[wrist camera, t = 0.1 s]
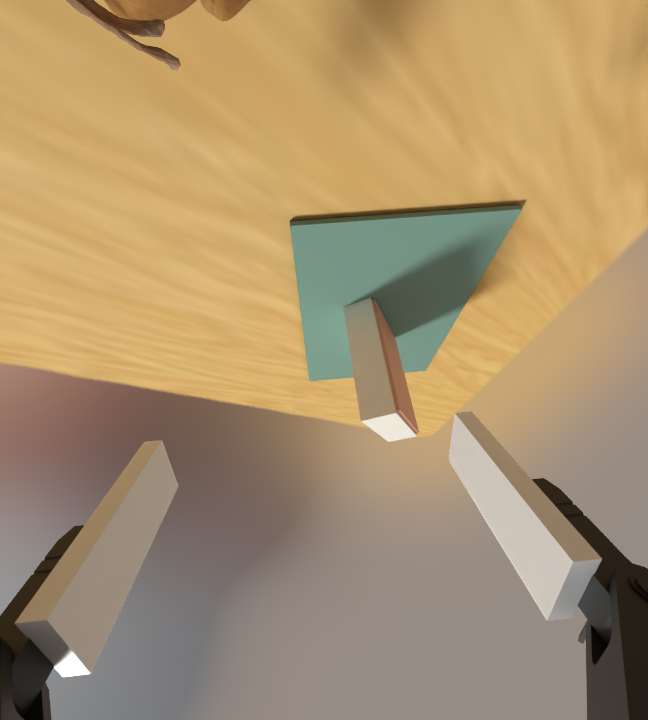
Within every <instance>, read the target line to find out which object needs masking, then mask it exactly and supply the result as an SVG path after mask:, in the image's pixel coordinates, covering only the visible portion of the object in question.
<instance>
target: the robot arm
mask: <svg viewBox="0 0 648 720" xmlns="http://www.w3.org/2000/svg"><path fill="white" fill-rule="evenodd" d="M449 461H450V463H451V465H452V466H453V468H454V470H455V471H456V473H457V475H458V476H459V478H460V479H461V481H462V483H463V484H464V486H465V488H466V489H467V491H468V493H469V494H470V496H471V497H472V499H473V501H474V502H475V504H476V506H477V507H478V509H479V511H480V512H481V514H482V515H483V517H484V519H485V520H486V522H487V524H488V525H489V527H490V529H491V530H492V532H493V533H494V535H495V537H496V538H497V540H498V542H499V543H500V545H501V547H502V548H503V550H504V552H505V553H506V554H507V556H508V558H509V560H510V561H511V563H512V565H513V566H514V568H515V569H516V571H517V573H518V574H519V576H520V577H521V579H522V581H523V582H524V584H525V586H526V587H527V589H528V591H529V592H530V594H531V596H532V597H533V599H534V601H535V602H536V604H537V605H538V607H539V609H540V610H541V612H542V614H543V615H544V617H545V618H546V620H547V621H551V620H560V619H569V618H573V615H574V614H575V612H576V609H577V608H578V606H579V608H580V609H581V611H582V612H583V613H584V615H585V616H586V618H587V619H588V620H587V622H586V624H585V626H584V627H583V629H582V631H581V633H580V635H579V639H578V641H579V642H581V643H583V642H584V640H585V639H586V670H587V720H648V569H647V568H645V567H642V566H639V565H635V564H632V563H631V562H630V561H629V560H628V559H627V558H626V557H625V556H624V555H623V554H622V553H621V552H620V551H619V550H618V549H617V548H616V547H615V546H614V545H613V544H612V543H611V542H610V541H609V539H608V538H607V537H606V536H604V534H603V533H602V532H601V531H600V530H599V529H598V528H597V527H596V526H595V525H594V524H593V523H592V522H591V521H590V520H589V519H588V518H587V517H586V516H584V515H583V512H582V511H581V510H580V509H579V508H578V507H577V506H576V505H573V503H572V501H571V500H570V499H569V498H568V497H567V496H566V495H565V494H564V493H563V492H562V491H561V490H560V489H559V488H558V487H556V486H555V485H553V484H552V483H550V482H549V481H547V480H545V479H544V478H541V479H531V478H530V477H529V476H528V475H527V474H526V472H525V471H524V470H523V469H522V468H521V467H520V466H519V465H518V464H517V462H516V461H515V460H514V459H513V458H512V457H511V456H510V454H509V453H508V452H507V451H506V450H505V449H504V448H503V447H502V445H501V444H500V443H499V442H498V441H497V440H496V439H495V438H494V436H492V435H491V433H490V432H489V431H488V430H487V429H486V427H485V426H484V425H483V424H482V423H481V422H480V421H479V420H478V418H477V417H476V416H475V415H474V414H473V413H472V412H462V413H455V416H454V424H453V431H452V438H451V445H450V453H449ZM177 488H178V483H177V481H176V478H175V475H174V472H173V470H172V467H171V464H170V462H169V459H168V456H167V453H166V450H165V447H164V445H163V442H162V440H159V441H149V442H144V443H143V444H142V446H141V447H140V449H139V450H138V451H137V453H136V454H135V455H134V457H133V458H132V460H131V461H130V462H129V464H128V465H127V467H126V468H125V469H124V471H123V472H122V474H121V475H120V476H119V478H118V479H117V481H116V482H115V484H114V485H113V486H112V488H111V489H110V491H109V492H108V493H107V495H106V496H105V497H104V499H103V500H102V502H101V503H100V504H99V506H98V507H97V509H96V510H95V511H94V513H93V514H92V516H91V517H90V518H89V520H88V521H87V523H86V524H85V525H82V526H74V527H73V528H72V529H71V530H70V531H68V532H67V533H66V534H65V535H64V536H63V537H62V538H61V539H59V540H58V541H57V542H56V544H55V545H54V547H53V548H52V549H51V550H50V552H49V553H48V554H47V555H46V557H45V560H44V561H42V562H41V563H40V565H39V566H38V567H37V569H36V570H35V571H34V574H33V575H31V576H30V578H29V579H28V581H27V582H26V583H25V584H24V586H23V587H22V588H21V589H20V591H19V592H18V593H17V595H16V596H15V597H14V599H13V600H12V601H11V603H10V604H9V605H8V607H7V608H6V609H5V611H4V612H3V613H2V614H1V616H0V720H51V710H50V698H49V689H48V687H47V685H46V683H45V682H46V680H47V678H48V676H49V675H50V673H51V671H52V669H53V667H54V668H55V669H56V670H57V671H58V672H59V674H60V675H61V676H62V677H69V676H77V675H86V674H91V672H92V670H93V668H94V666H95V664H96V662H97V660H98V657H99V655H100V653H101V651H102V649H103V647H104V644H105V642H106V640H107V638H108V636H109V634H110V632H111V629H112V627H113V625H114V623H115V621H116V619H117V616H118V615H119V612H120V610H121V608H122V606H123V604H124V602H125V599H126V597H127V595H128V593H129V591H130V589H131V587H132V585H133V582H134V580H135V578H136V576H137V574H138V572H139V570H140V567H141V565H142V563H143V561H144V559H145V556H146V555H147V552H148V550H149V548H150V546H151V544H152V542H153V539H154V537H155V535H156V533H157V531H158V529H159V526H160V525H161V522H162V520H163V518H164V516H165V514H166V512H167V510H168V507H169V505H170V503H171V501H172V499H173V497H174V495H175V492H176V490H177Z"/></svg>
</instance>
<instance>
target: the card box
mask: <svg viewBox="0 0 648 720" xmlns="http://www.w3.org/2000/svg"><path fill="white" fill-rule="evenodd" d="M343 310H344V317H345V323H346V329H347V335H348V342H349V348H350V354H351V361H352V367H353V373H354V380H355V386H356V392H357V399H358V405H359V411H360V418H361V422H363V423H364V424H365V425H367V426H368V427H370V428H371V429H372V430H374V431H375V432H376V433H378V434H379V435H380V436H382V437H383V438H384V439H386V440H387V441H388V442H391V441H396V440H401V439H405V438H410V437H415V436H417V435H416V433H419V431H418V427H417V423H416V419H415V415H414V411H413V407H412V403H411V399H410V395H409V391H408V387H407V383H406V379H405V375H404V371H403V367H402V363H401V359H400V355H399V351H398V347H397V343H396V339H395V337H394V335H393V333H392V331H391V329H390V327H389V325H388V324H387V322H386V320H385V318H384V316H383V314H382V312H381V310H380V308H379V306H378V304H377V302H376V301H375V299H374V300H372V299H371V297H370V298H367V299H365V300H362V301H359V302H357V303H354V304H351V305H349V306H346V307H343Z"/></svg>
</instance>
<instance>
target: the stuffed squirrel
mask: <svg viewBox="0 0 648 720" xmlns="http://www.w3.org/2000/svg"><path fill="white" fill-rule="evenodd" d="M66 1H67V2H69V3H70V4H71V5H72V6H73V7H74V8H75V9H76V10H77V11H78V12H80V13H82V14H84V15H87V16H89V17H91V18H92V19H94V20H95V21H96V22H97V23H99V24H100V25H101V26H103V27H104V28H106V29H107V30H109V31H110V32H112V33H114V34H116V35H117V36H118V37H119V38H121V39H122V40H124V41H126V42H128V43H129V44H131V45H132V46H133V47H134V48H136V49H138V50H140V51H143V52H145V53H147V54H149V55H150V56H152V57H154V58H156V59H158V60H160V61H163V62H165V63H166V64H168V65H169V66H170V68H171V70H177V69H178V68H179V66H180V65H181V64H180V61H179V59H178V58H176V57H174V56H173V55H171V54H169V53H168V52H166V51H164V50H163V49H161V48H158V47H152V46H146V45H144V44H141V43H139V42H137V41H136V40H135V39H133V38H132V37H130V36H129V35H127V34H126V33H128V34H132V35H138V36H142V37H146V36H149V37H161V36H162V34H163V32H164V30H165V24H164V21H165V20H167V19H169V18H171V17H173V16H175V15H177V14H179V13H181V12H183V11H184V10H185V9H187V8H188V7H189V6H190V5H191V4H193V3H194V2H195V1H196V0H105V2H106V3H107V5H108V7H109V8H110V10H111V11H112V12H113V13H114V14H115V15H114V14H112V13H111V12H109V11H108V10H106V9H105V8H103V7H102V6H100V5H99V4H97V3H96V2H95V1H94V0H66ZM200 1H201V4H202V5H203V7H204V8H205V10H206V11H207V12H208V13H210V14H212V15H214V16H215V17H216V18H217V19H218V20H221V21H228V20H229V19H231V18H233V17H234V16H235V15H236V14H237V13H238V12H239V11H240V10H241V9H242V8H243V7H244V6H245V5H246V4H247V3H248V2H249V1H250V0H200ZM116 15H117V16H116ZM118 16H119V17H118ZM120 17H122V18H120Z"/></svg>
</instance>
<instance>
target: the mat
mask: <svg viewBox="0 0 648 720" xmlns="http://www.w3.org/2000/svg"><path fill="white" fill-rule="evenodd" d="M521 210H522V209H521V207H520V206H519V205H510V206H496V207H482V208H468V209H455V210H441V211H427V212H413V213H399V214H385V215H371V216H357V217H343V218H329V219H315V220H301V221H290V228H291V236H292V244H293V252H294V260H295V268H296V276H297V284H298V292H299V300H300V308H301V316H302V324H303V332H304V340H305V348H306V356H307V364H308V372H309V380H310V381H316V380H327V379H338V378H350V377H354V373H353V367H352V361H351V354H350V348H349V342H348V335H347V329H346V323H345V317H344V310H343V307H346V306H349V305H351V304H354V303H357V302H359V301H362V300H365V299H367V298H370V297H371V299H372V300H374V299H375V301H376V302H377V304H378V306H379V308H380V310H381V312H382V314H383V316H384V318H385V320H386V322H387V324H388V325H389V327H390V329H391V331H392V333H393V335H394V337H395V339H396V343H397V347H398V351H399V355H400V359H401V363H402V367H403V371H404V373H405V372H417V371H426V369H427V368H428V366H429V364H430V363H431V361H432V359H433V358H434V356H435V354H436V352H437V351H438V349H439V347H440V346H441V344H442V342H443V341H444V339H445V337H446V336H447V334H448V332H449V331H450V329H451V327H452V326H453V324H454V322H455V321H456V319H457V317H458V316H459V314H460V312H461V311H462V309H463V307H464V306H465V304H466V302H467V301H468V299H469V297H470V296H471V294H472V292H473V291H474V289H475V287H476V286H477V284H478V282H479V281H480V279H481V277H482V275H483V274H484V272H485V270H486V269H487V267H488V265H489V264H490V262H491V260H492V259H493V257H494V255H495V254H496V252H497V250H498V249H499V247H500V245H501V244H502V242H503V240H504V239H505V237H506V235H507V234H508V232H509V230H510V229H511V227H512V225H513V224H514V222H515V220H516V219H517V217H518V215H519V214H520V212H521Z"/></svg>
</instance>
